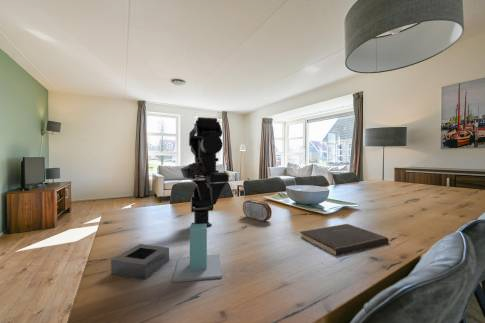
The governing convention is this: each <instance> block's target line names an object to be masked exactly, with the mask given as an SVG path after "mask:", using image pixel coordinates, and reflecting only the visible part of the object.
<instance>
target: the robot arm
mask: <svg viewBox="0 0 485 323" xmlns="http://www.w3.org/2000/svg"><path fill="white" fill-rule="evenodd" d="M188 135H189V136H188V146H190V152H191V153H192V154H193V156H194V162H192V163H190V164H188V165H186V166H184V167H181V168H180V171H181V174H182V176H183V178H184V179H189V180H190V181H191V182H192V183H193V184H194V185H195V188H194V190H193V192H192V196H190V212H191V213H194V215H193V218H194V219H193V221H194V222H191V224H207V228H209V227H211V226H213V225H212V223H211V222H209V221H210V220H209V212H210V211H211V212H212V211H214V205H216V204H217V202H218V199H219V197H220V195H221V194H222V191H223V189H224V188H225V187H226V185H227V184H228V182H230V176H229V174H228V172H225V171H224V172H223V171H222V172H220V171H219V170H217V162H219V158H218V157H217V154H218V153H219V152H221V150H222V148H223V141H222V139H221V137H222V135H223V130H222V126H221V124H220V121H218V118H217V117H202V116H199V117H197V119H196V120H195V123H194V124H193V128H192V130H190V132H189V134H188ZM191 224H190V225H191Z"/></svg>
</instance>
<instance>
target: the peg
mask: <svg viewBox="0 0 485 323" xmlns="http://www.w3.org/2000/svg"><path fill="white" fill-rule="evenodd" d="M207 229H208V227H207V224H190V226H189V256H190V271H191V270H204V269H207V255H208V251H207V250H208V247H207V246H208V243H207V242H208V240H207V239H208V237H207V236H208V230H207Z"/></svg>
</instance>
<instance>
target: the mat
mask: <svg viewBox="0 0 485 323" xmlns="http://www.w3.org/2000/svg"><path fill="white" fill-rule="evenodd" d="M222 278H223V274H222V266H221V258H220V254H219V253H218V254H217V253H216V254H207V269H204V270H191V271H190V255H189V256H179V257H178V259H177V263H176V266H175V269H174V273H173V277H172V283H181V282H188V281H189V282H190V281H201V280H203V281H204V280H213V279H222Z"/></svg>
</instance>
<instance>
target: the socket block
mask: <svg viewBox="0 0 485 323" xmlns="http://www.w3.org/2000/svg"><path fill="white" fill-rule="evenodd" d="M169 261H170V247H166V246H159V245H151V244H143V243H138V244H137V245H135V246H133V247H131V248H129V249H128V250H126V251H124V252H122V253H121V254H119V255H117V256H115V257H114V258H111V260H110V264H111V268H110V269H111V271H110V272H111V275H114V276H120V277H127V278H132V279H138V280H142V281H143V280H144V281H145V280H147V279H148V278H149V277H150V276H152V275H153V274H154V273H155V272H157V271H158V270H159V269H161V268H162V267H163V266H164V265H165V264H167V263H168V262H169Z"/></svg>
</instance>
